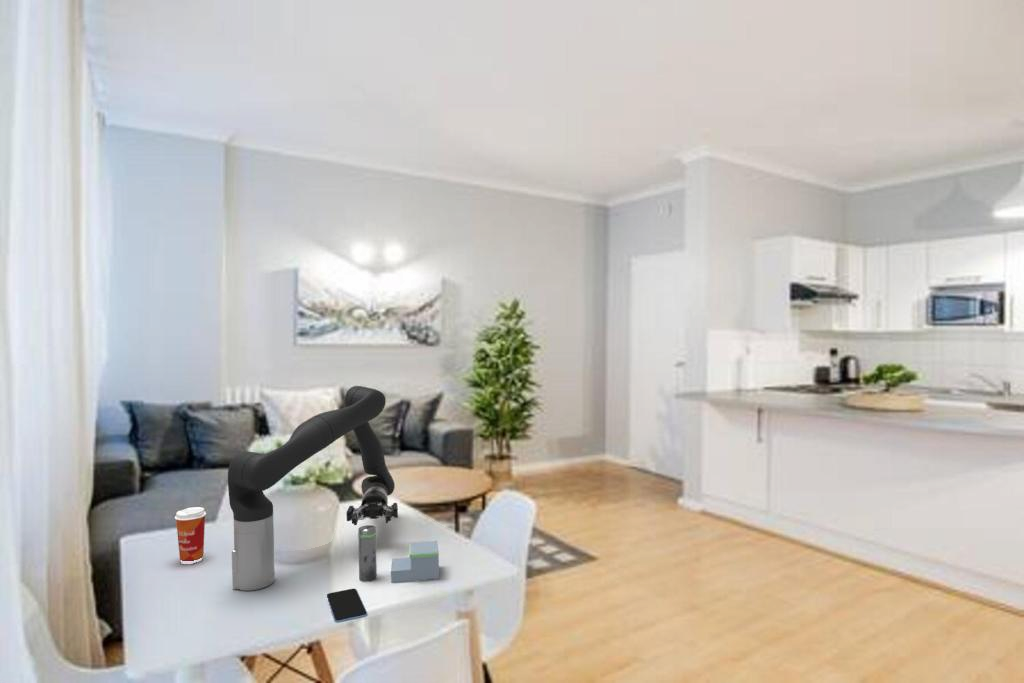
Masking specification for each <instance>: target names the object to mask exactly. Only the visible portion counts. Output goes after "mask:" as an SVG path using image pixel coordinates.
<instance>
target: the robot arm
mask: <svg viewBox="0 0 1024 683" xmlns="http://www.w3.org/2000/svg"><path fill="white" fill-rule="evenodd" d="M386 402H387V400H386V397H385V394H384V393H383V392H382V391H380V390H378V389H376V388H372V387H366V386H361V385H354V386H351V387H350V388H349V389H348V390H347V391H346V394H345V395H344V407H342V408H337V409H332V410H329V411H325V412H321V413H318V414H316V415H314V416H312V417H310V418H308V419H307V420H305V421H304V422H303V421H302V423H300V424H299V425H297V427H296V428H294V431H293V432H292V434H291V435H290V437H289V439H288V440H287V441H286V442H285V443H284V444H283V445H281V446H279V447H277V448H275V449H273V450H271V451H268V452H266V453H261V452H255V451H241V452H239V453H237V454H236V455H234V456H233V458H232V459H231V461H230V463H229V466H228V469H227V489H228V500H229V507H230V509H231V511H232V513H233V540H234V541H233V544H234V545H233V546H234V547H233V549H232V550H231V572H232V573H231V574H232V576H231V580H232V590H239V589H240V590H239V591H247V592H248V591H257V590H261V589H264V588H266V587H269V586H271V585H272V584H274V582H275V580H276V578H275V577H276V575H275V573H276V572H275V539H274V538H275V535H274V534H275V532H274V530H275V529H274V525H275V524H274V505H273V502H272V501H271V500H270V499H269V498H268V497H267V496H266V495H265V494H264V491H266V490H268V489H270V488H272V487H273V486H275V484H277V483H279V481H281V480H282V479H283V478H284V477H285V476H286V475H287V474H289V473H290V472H291V471H293V470H294V469H295V468H296V467H298V466H299V465H301V464H302V463H304V462H305V461H307V460H308V459H310V458H312V457H313V456H315V454H317V453H319V452H321V451H323V450H324V449H325V448H327V447H328V446H330V445H331V444H333V443H334V442H336V441H337V440H339V439H340V438H342V437H344V436H346V434H348V433H349V432H352V431H353V432H354V435H355V438H356V440H357V443H358V447H359V451H360V456H361V461H362V467H363V471H364V473H365V474H367V475H370V476H367V477H365V478H364V479H363V480H362V482H361V493H362V494H363V496H362V501H361V504H360V506H358V507H356V508H355V506H354V505H350V506H348V509H347V511H346V521H347V522H350V521H351V524H352V525H353V526H358V522H359V521H364V520H366V519H370V520H376V519H380V518H381V519H385V524H389V522H391V521H392V518H395V519H397V518H398V517H399V512H398V510H399V509H398V503H397V502H393V503H392V504H391V505H388V504H389V502H388V500H389V498H388V496H390V495H392V494H393V492H395V491H394V490H395V480H394V479H393V477H392V474H391V473H390V471H389V469H388V466H387V464H386V461H385V454H384V448H383V445H382V443H381V441H380V440H379V438H378V436H377V435H376V433H375V431H374V430H373V428H372V427H371V425H370V421H372V420H375V419H376V418H377V417H378V416H379V415H380V414H382V412H383V411H384V409H385V406H386Z"/></svg>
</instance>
